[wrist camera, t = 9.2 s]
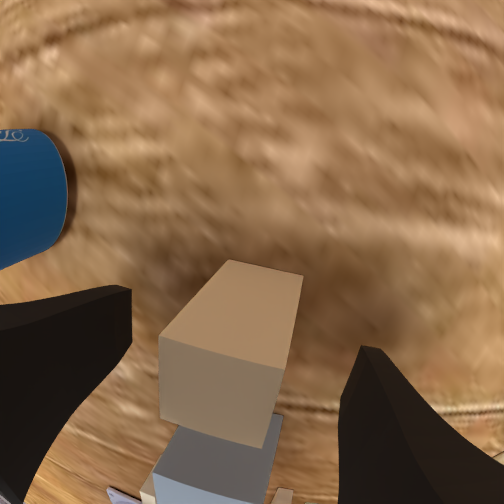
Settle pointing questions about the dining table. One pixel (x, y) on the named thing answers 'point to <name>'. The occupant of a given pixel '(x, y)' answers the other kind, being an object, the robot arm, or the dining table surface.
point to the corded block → (225, 386)
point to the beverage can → (30, 194)
